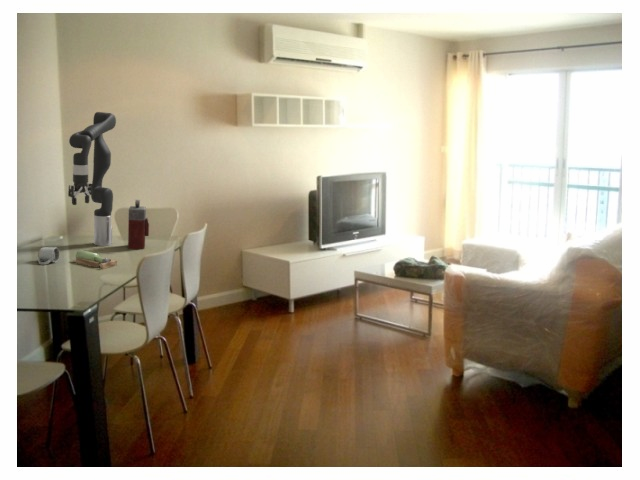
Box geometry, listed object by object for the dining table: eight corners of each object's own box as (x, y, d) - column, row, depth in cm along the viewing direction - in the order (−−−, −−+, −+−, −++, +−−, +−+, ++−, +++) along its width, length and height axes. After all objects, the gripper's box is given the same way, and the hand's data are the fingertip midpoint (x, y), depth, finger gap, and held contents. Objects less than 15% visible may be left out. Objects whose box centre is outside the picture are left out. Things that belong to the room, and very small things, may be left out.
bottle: (83, 249, 316) (110, 254, 308) (84, 259, 317) (110, 265, 310) (75, 251, 311) (102, 257, 304) (76, 261, 312) (102, 268, 305)
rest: (90, 259, 318) (90, 254, 318) (117, 265, 311) (117, 260, 311) (75, 262, 309) (75, 258, 309) (102, 269, 302) (102, 264, 302)
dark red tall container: (148, 249, 348) (149, 201, 342) (128, 248, 346) (128, 200, 340) (149, 245, 357) (150, 198, 351) (129, 244, 354) (130, 197, 348)
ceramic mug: (44, 259, 312) (43, 244, 310) (59, 260, 311) (59, 246, 310) (34, 264, 301) (33, 249, 299) (50, 266, 301) (49, 251, 299)
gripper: (85, 171, 322) (85, 201, 325) (64, 173, 309) (64, 204, 313) (96, 173, 319) (96, 203, 323) (75, 175, 306) (75, 206, 310)
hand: (80, 203), depth 318 cm, fingers open, 8 cm apart
